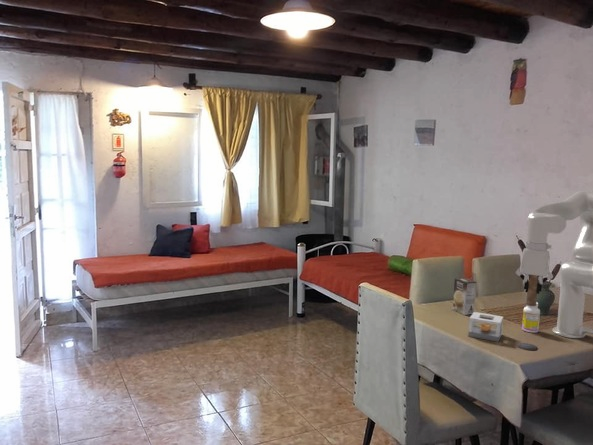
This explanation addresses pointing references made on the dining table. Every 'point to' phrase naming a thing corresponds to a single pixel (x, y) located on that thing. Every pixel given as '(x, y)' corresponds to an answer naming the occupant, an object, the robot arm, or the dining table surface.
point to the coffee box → (464, 296)
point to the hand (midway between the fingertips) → (532, 291)
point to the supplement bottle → (531, 318)
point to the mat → (527, 346)
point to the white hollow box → (476, 330)
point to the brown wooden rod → (532, 290)
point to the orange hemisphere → (485, 327)
